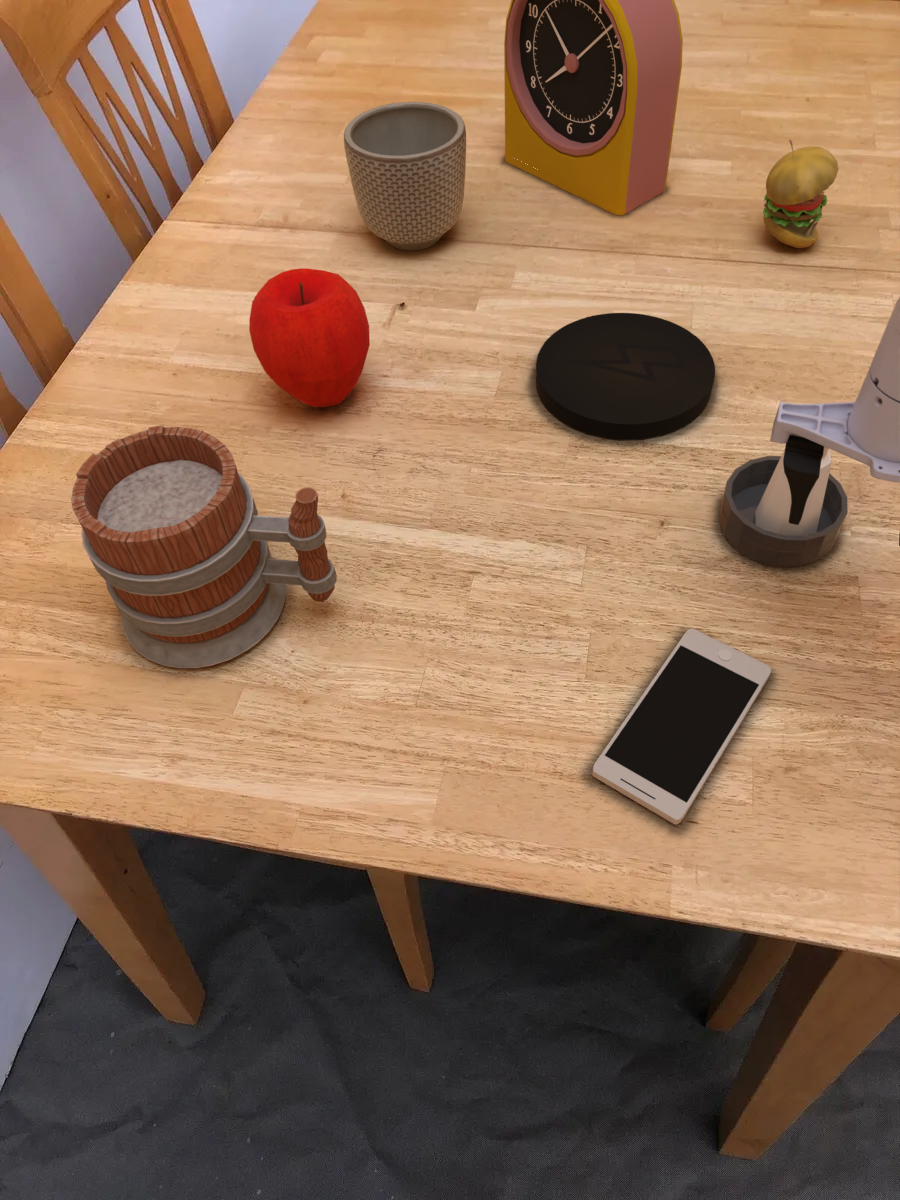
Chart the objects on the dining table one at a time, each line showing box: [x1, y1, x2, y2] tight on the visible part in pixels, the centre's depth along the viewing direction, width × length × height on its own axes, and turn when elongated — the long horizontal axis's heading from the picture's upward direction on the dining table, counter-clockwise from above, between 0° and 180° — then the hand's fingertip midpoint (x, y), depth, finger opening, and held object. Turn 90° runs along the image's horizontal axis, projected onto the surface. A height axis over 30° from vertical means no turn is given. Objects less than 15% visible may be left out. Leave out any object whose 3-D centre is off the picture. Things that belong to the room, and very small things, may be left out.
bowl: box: [718, 455, 849, 568], centre depth 80 cm, size 10×10×4 cm
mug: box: [70, 424, 338, 669], centre depth 73 cm, size 14×19×15 cm
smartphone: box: [591, 628, 772, 825], centre depth 69 cm, size 7×16×1 cm, turn 144°
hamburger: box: [762, 139, 839, 249], centre depth 104 cm, size 8×7×12 cm
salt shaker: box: [755, 447, 832, 536], centre depth 76 cm, size 5×5×11 cm
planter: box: [343, 101, 467, 252], centre depth 109 cm, size 14×14×13 cm
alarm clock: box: [503, 0, 684, 216], centre depth 111 cm, size 21×9×26 cm, turn 42°
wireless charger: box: [535, 312, 716, 441], centre depth 94 cm, size 18×18×2 cm
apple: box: [248, 267, 371, 408], centre depth 91 cm, size 12×12×13 cm
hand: (848, 525), depth 67 cm, fingers open, 7 cm apart
